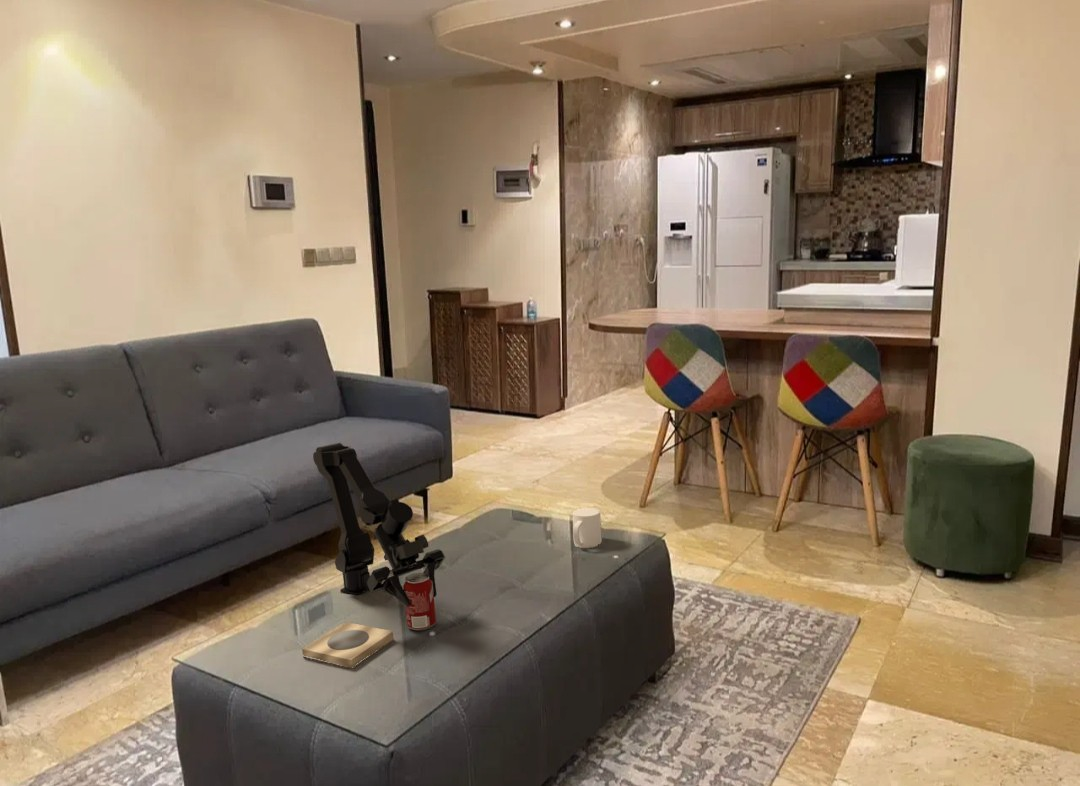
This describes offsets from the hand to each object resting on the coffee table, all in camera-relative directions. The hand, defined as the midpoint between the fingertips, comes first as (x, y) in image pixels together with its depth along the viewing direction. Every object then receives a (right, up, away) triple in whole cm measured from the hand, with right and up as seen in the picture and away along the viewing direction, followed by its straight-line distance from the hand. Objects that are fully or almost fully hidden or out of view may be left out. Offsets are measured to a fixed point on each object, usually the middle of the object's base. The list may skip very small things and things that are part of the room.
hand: (422, 600), depth 186 cm
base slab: (-15, -9, -7) cm, 19 cm away
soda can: (0, -7, +2) cm, 7 cm away
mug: (+41, +4, +48) cm, 63 cm away
